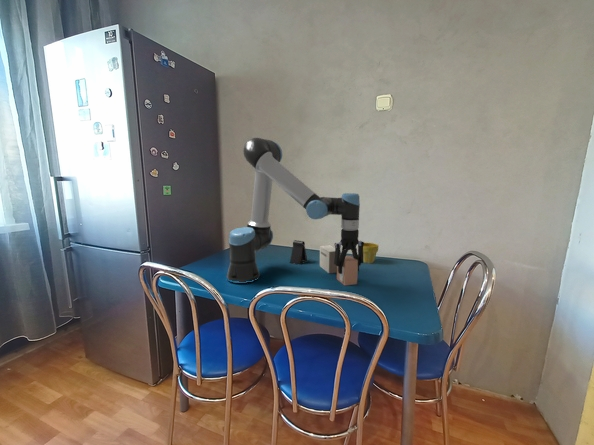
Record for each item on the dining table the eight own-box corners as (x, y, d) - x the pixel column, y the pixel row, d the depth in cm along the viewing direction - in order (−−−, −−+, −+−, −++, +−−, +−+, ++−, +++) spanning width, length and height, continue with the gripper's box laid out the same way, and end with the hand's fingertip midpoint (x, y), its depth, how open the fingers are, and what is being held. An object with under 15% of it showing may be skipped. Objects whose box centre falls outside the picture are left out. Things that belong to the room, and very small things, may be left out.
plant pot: (375, 259, 163) (376, 242, 162) (379, 264, 153) (380, 247, 152) (357, 258, 164) (358, 242, 163) (359, 264, 154) (360, 246, 153)
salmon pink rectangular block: (344, 285, 124) (345, 261, 122) (336, 279, 132) (337, 256, 130) (357, 283, 126) (357, 260, 124) (348, 277, 134) (348, 255, 132)
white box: (329, 273, 139) (329, 251, 138) (319, 266, 151) (319, 246, 149) (340, 272, 141) (340, 250, 140) (330, 265, 153) (330, 245, 151)
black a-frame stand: (298, 264, 153) (298, 243, 151) (289, 262, 156) (289, 241, 154) (307, 260, 161) (307, 240, 159) (298, 259, 164) (298, 238, 162)
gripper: (333, 231, 117) (332, 285, 121) (373, 229, 123) (371, 279, 127) (326, 228, 124) (325, 278, 128) (364, 226, 130) (362, 274, 134)
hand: (348, 279), depth 127 cm, fingers closed on salmon pink rectangular block, 6 cm apart
